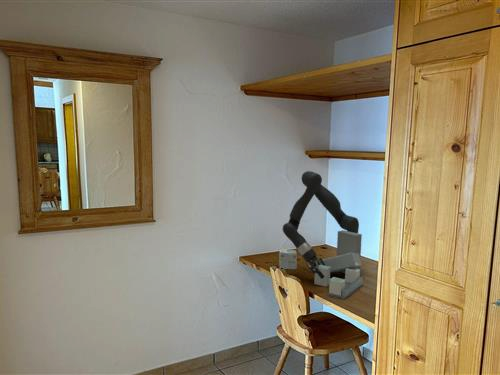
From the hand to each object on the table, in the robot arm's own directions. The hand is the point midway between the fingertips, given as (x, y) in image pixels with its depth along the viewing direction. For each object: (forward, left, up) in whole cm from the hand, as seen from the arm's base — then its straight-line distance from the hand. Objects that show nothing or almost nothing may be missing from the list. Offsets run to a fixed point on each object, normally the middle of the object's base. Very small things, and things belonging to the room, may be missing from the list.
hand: (325, 276), depth 219 cm
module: (0, -2, -5) cm, 5 cm away
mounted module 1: (+11, +12, -3) cm, 16 cm away
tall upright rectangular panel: (-28, +2, -5) cm, 29 cm away
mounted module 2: (-10, +12, -3) cm, 16 cm away
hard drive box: (-15, -7, 0) cm, 16 cm away
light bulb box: (-13, -32, -5) cm, 35 cm away
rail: (0, +12, -5) cm, 13 cm away
